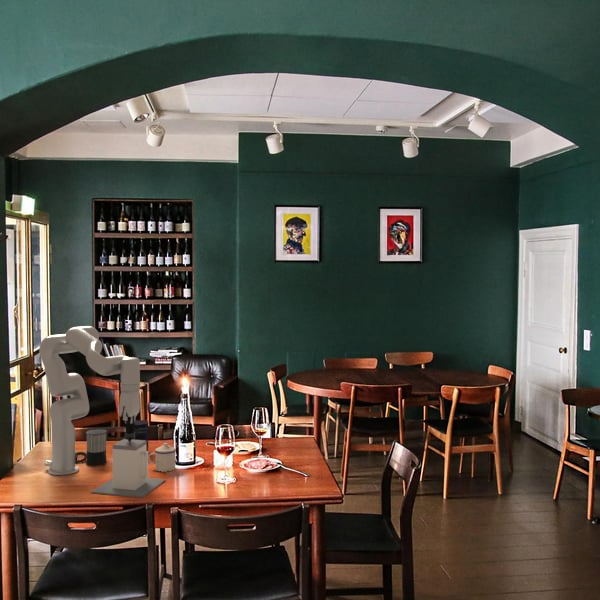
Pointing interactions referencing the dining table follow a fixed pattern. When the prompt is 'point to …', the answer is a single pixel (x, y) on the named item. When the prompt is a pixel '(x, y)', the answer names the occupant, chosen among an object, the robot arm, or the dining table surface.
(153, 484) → the slate mat
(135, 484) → the box
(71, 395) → the robot arm
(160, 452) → the teacup with lid
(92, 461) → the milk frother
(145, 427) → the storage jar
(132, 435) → the plunger
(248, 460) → the dining table surface
